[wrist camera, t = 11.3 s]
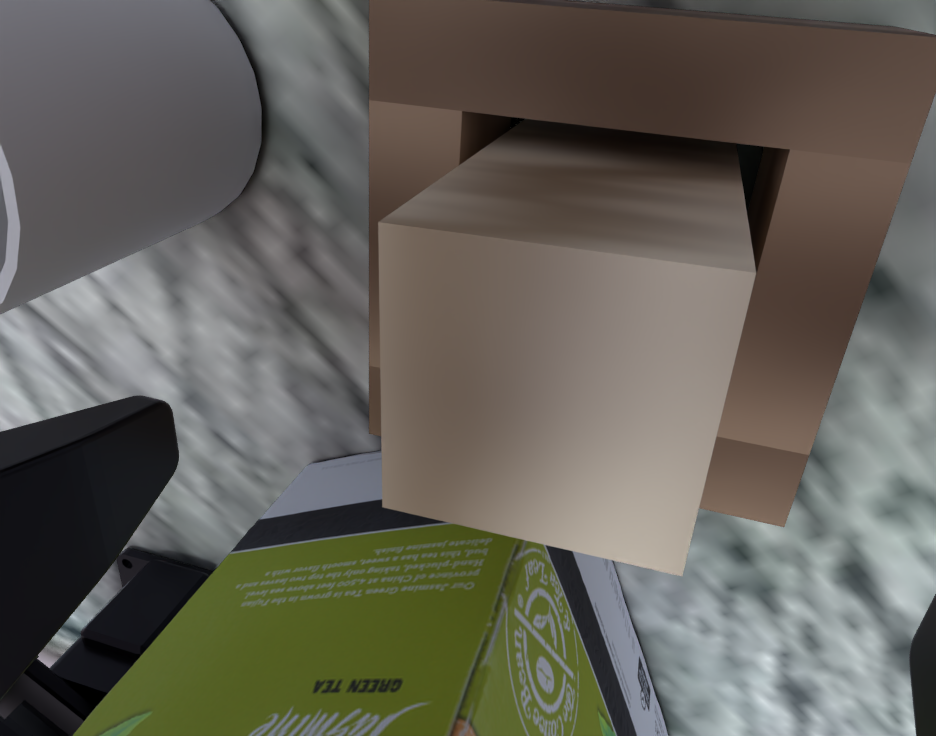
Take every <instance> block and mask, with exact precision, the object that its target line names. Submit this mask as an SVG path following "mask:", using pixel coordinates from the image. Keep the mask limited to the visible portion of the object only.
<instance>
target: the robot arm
mask: <svg viewBox="0 0 936 736" xmlns="http://www.w3.org/2000/svg"><path fill="white" fill-rule="evenodd" d="M178 461H179V450H178V443H177V437H176V430H175V424H174V417H173V412H172V409H171V407H170V405H169V404H168V403H166V402H165V401H162V400H158V399H154V398H150V397H145V396H132V397H128V398H125V399H121V400H117V401H113V402H110V403H106V404H102V405H99V406H95V407H91V408H87V409H84V410H80V411H76V412H73V413H69V414H65V415H62V416H58V417H54V418H50V419H47V420H43V421H39V422H36V423H32V424H28V425H25V426H21V427H17V428H13V429H10V430H6V431H2V432H0V736H73V734H74V733H75V732H76V731H77V730H78V728H79V727H80V726H81V725H82V723H83V722H84V721H85V720H86V719H87V717H88V716H89V715H90V714H91V712H92V711H93V710H94V709H95V708H96V707H97V706H98V704H99V703H100V702H101V701H102V700H103V699H104V698H105V696H106V695H107V694H108V693H109V692H110V691H111V689H112V688H113V687H114V686H115V685H116V684H117V683H118V682H119V680H120V679H121V678H122V677H123V676H124V675H125V674H126V673H127V671H128V670H129V669H130V668H131V667H132V666H133V665H134V663H135V662H136V661H137V660H138V659H139V658H140V656H141V655H142V654H143V653H144V652H145V651H146V650H147V648H148V647H149V646H150V645H151V644H152V643H153V642H154V640H155V639H156V638H157V637H158V636H159V635H160V633H161V632H162V631H163V630H164V629H165V628H166V626H167V625H168V624H169V623H170V622H171V621H172V619H173V618H174V617H175V616H176V615H177V614H178V612H179V611H180V610H181V609H182V608H183V607H184V605H185V604H186V603H187V602H188V601H189V599H190V598H191V597H192V596H193V595H194V594H195V593H196V591H197V590H198V589H199V588H200V587H201V586H202V584H203V583H204V582H205V581H206V580H207V579H208V578H209V576H210V575H211V574H212V573H213V572H212V571H209V570H205V569H202V568H198V567H195V566H191V565H188V564H184V563H181V562H177V561H174V560H170V559H167V558H163V557H160V556H156V555H152V554H149V553H145V552H142V551H138V550H135V549H131V548H127V549H125V550H124V551H123V552H122V553H121V551H122V550H123V548H124V547H125V545H126V544H127V542H128V541H129V539H130V538H131V536H132V535H133V533H134V532H135V530H136V529H137V527H138V526H139V525H140V523H141V522H142V520H143V519H144V517H145V516H146V514H147V513H148V511H149V510H150V508H151V507H152V505H153V504H154V502H155V501H156V499H157V498H158V496H159V495H160V493H161V492H162V491H163V489H164V488H165V486H166V485H167V483H168V482H169V480H170V479H171V477H172V476H173V474H174V472H175V470H176V468H177V465H178ZM120 553H121V554H120ZM119 554H120V555H119ZM118 555H119V556H118ZM116 558H117V563H118V567H119V572H120V577H121V581H122V586H123V588H122V589H121V590H120V591H119V592H118V593H117V594H116V595H115V596H114V597H113V598H112V599H111V600H110V601H109V602H108V603H107V605H106V606H105V607H104V608H103V609H102V610H101V611H100V612H99V613H98V614H97V615H96V616H95V617H94V618H93V619H92V620H91V621H90V622H89V623H88V624H87V625H86V626H85V627H84V628H83V629H82V631H81V636H80V637H79V638H78V639H77V641H76V642H75V643H74V644H73V645H72V646H71V647H70V648H69V649H68V650H67V651H66V652H65V653H64V654H63V655H62V656H61V657H60V658H59V659H58V660H57V661H56V662H55V663H54V664H53V665H52V666H51V667H50V668H48V667H47V666H46V665H44V664H43V663H42V662H41V661H39V660H38V659H37V658H38V657H39V656H38V654H39V653H40V652H41V651H42V649H43V648H44V647H45V646H46V645H47V643H48V642H49V641H50V640H51V639H52V637H53V636H54V635H55V634H56V633H57V631H58V630H59V629H60V628H61V627H62V625H63V624H64V623H65V622H66V620H67V619H68V618H69V617H70V616H71V614H72V613H73V612H74V611H75V610H76V608H77V607H78V606H79V605H80V604H81V602H82V601H83V600H84V599H85V598H86V596H87V595H88V594H89V593H90V592H91V590H92V589H93V588H94V587H95V586H96V584H97V583H98V582H99V581H100V579H101V578H102V577H103V575H104V574H105V573H106V572H107V570H108V569H109V568H110V567H111V565H112V564H113V562H114V561H115V559H116ZM909 665H910V676H911V686H912V697H913V707H914V718H915V728H916V736H936V594H935V596H934V598H933V600H932V602H931V604H930V606H929V608H928V610H927V612H926V614H925V616H924V618H923V620H922V622H921V624H920V626H919V628H918V630H917V632H916V634H915V636H914V638H913V640H912V643H911V647H910V654H909Z"/></svg>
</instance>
